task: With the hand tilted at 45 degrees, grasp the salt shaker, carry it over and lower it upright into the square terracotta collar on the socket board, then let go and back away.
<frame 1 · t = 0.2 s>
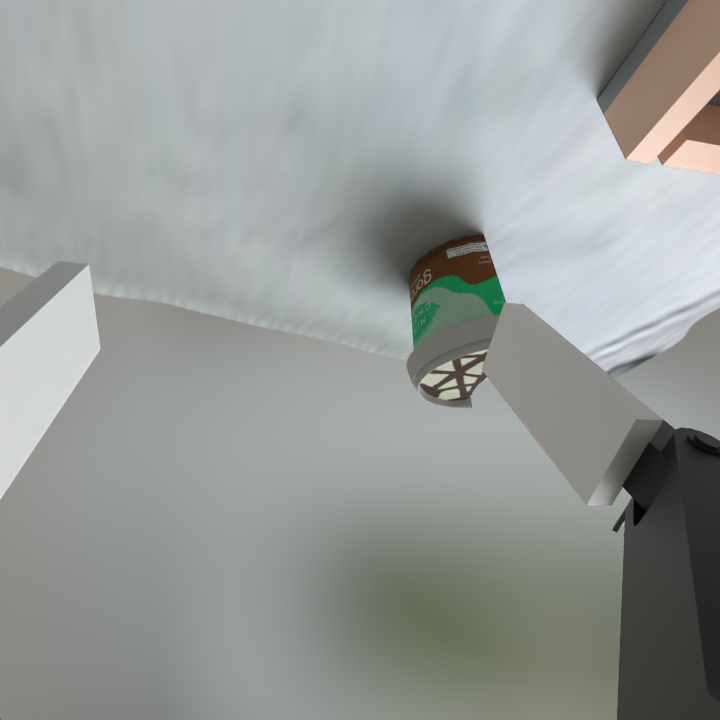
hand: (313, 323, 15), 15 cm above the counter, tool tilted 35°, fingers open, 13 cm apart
food container: (431, 272, 38), on the counter
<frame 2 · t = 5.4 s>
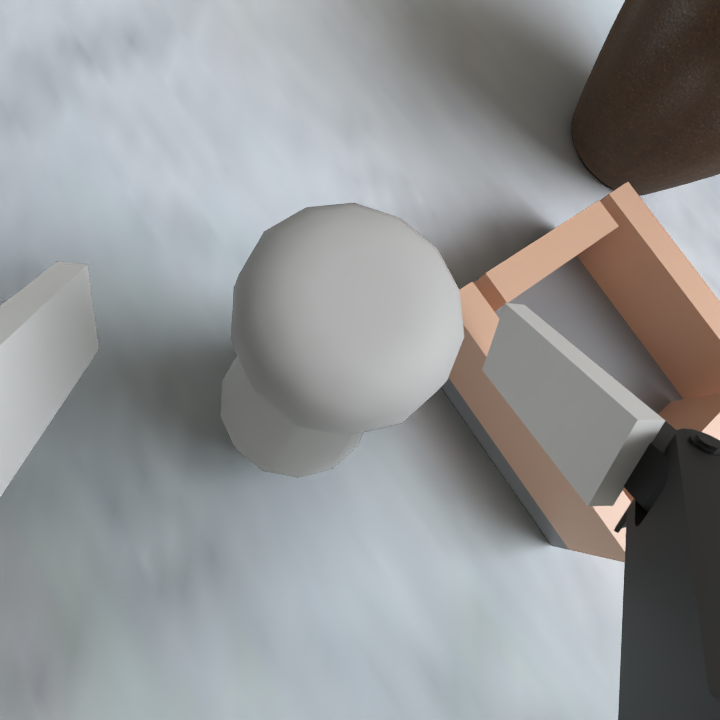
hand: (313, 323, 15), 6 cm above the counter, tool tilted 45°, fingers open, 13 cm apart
salt shaker: (291, 409, 20), on the counter
socket board: (557, 372, 23), on the counter
plant pot: (619, 148, 29), on the counter
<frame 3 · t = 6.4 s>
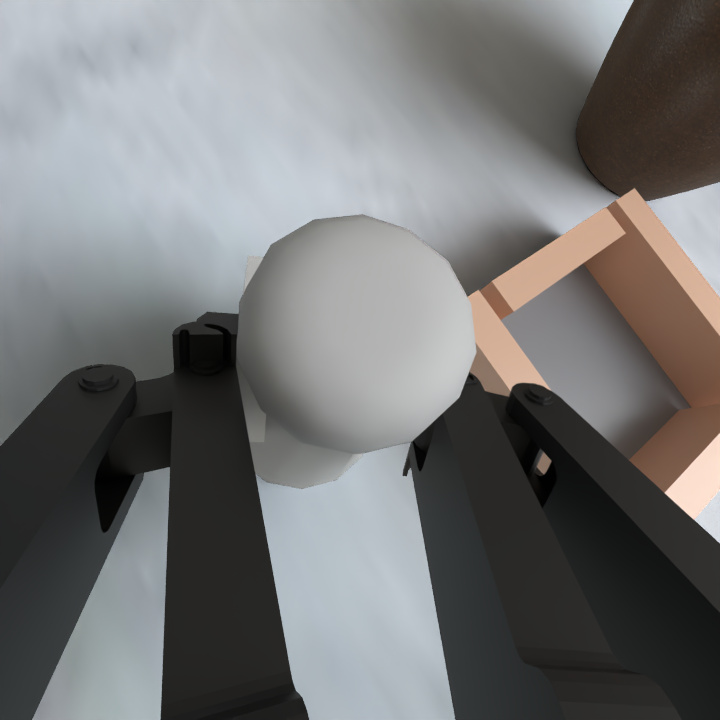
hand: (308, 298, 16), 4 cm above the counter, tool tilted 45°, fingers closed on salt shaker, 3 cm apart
salt shaker: (295, 418, 19), on the counter, touching gripper
socket board: (563, 380, 23), on the counter
plant pot: (624, 154, 29), on the counter
when the fingers open (7 cm above the counter, at t = 10.7 s): salt shaker drops 1 cm, resting on socket board.
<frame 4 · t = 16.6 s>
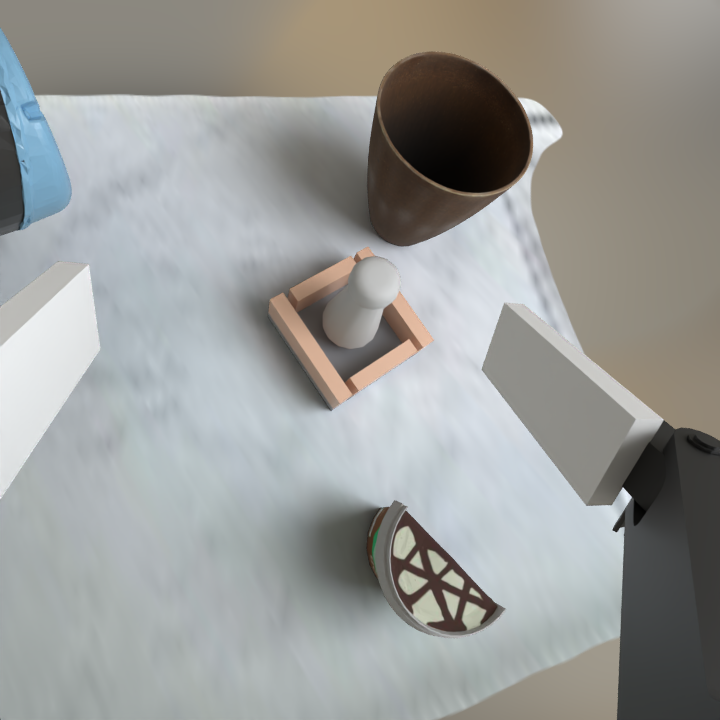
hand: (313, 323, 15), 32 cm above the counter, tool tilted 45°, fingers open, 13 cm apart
salt shaker: (345, 329, 48), point 1 cm above the counter, touching socket board
socket board: (345, 335, 49), on the counter
food container: (392, 565, 44), on the counter
plant pot: (399, 220, 54), on the counter
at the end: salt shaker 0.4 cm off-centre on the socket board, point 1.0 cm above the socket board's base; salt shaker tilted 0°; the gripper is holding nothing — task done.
